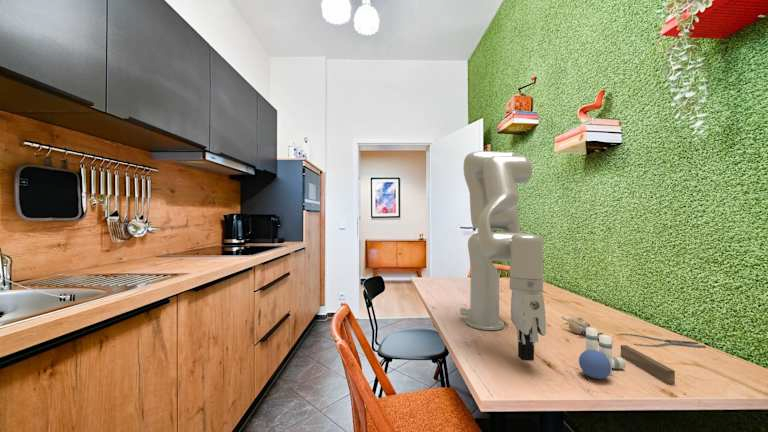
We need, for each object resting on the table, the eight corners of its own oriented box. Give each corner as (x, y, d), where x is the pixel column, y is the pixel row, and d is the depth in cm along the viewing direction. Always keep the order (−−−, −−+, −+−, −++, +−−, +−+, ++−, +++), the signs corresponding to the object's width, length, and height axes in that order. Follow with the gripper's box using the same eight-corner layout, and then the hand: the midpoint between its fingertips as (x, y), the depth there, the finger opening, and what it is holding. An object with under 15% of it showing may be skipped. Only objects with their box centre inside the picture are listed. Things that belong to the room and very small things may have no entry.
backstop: (667, 384, 66) (667, 370, 66) (620, 356, 80) (620, 344, 80) (674, 384, 66) (674, 370, 66) (626, 356, 80) (626, 345, 80)
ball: (588, 379, 71) (568, 361, 72) (603, 358, 72) (582, 341, 72) (607, 389, 65) (585, 369, 66) (623, 367, 66) (600, 348, 66)
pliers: (612, 333, 97) (676, 334, 96) (612, 335, 97) (676, 336, 96) (637, 345, 87) (708, 346, 86) (637, 348, 87) (708, 349, 86)
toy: (602, 333, 86) (557, 308, 100) (595, 349, 86) (551, 322, 100) (624, 337, 89) (577, 313, 103) (617, 353, 90) (571, 327, 104)
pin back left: (585, 363, 76) (585, 329, 76) (586, 359, 78) (586, 326, 78) (597, 366, 74) (597, 331, 74) (598, 362, 76) (597, 328, 76)
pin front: (586, 355, 73) (622, 356, 73) (581, 357, 75) (616, 358, 75) (590, 366, 72) (627, 367, 71) (585, 368, 74) (620, 369, 73)
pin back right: (598, 373, 71) (598, 336, 71) (599, 369, 73) (599, 333, 73) (612, 376, 69) (611, 339, 69) (612, 372, 71) (612, 336, 71)
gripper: (557, 291, 67) (557, 374, 67) (528, 279, 82) (528, 347, 81) (523, 290, 67) (522, 373, 67) (500, 278, 82) (500, 346, 82)
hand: (526, 358), depth 74 cm, fingers closed
